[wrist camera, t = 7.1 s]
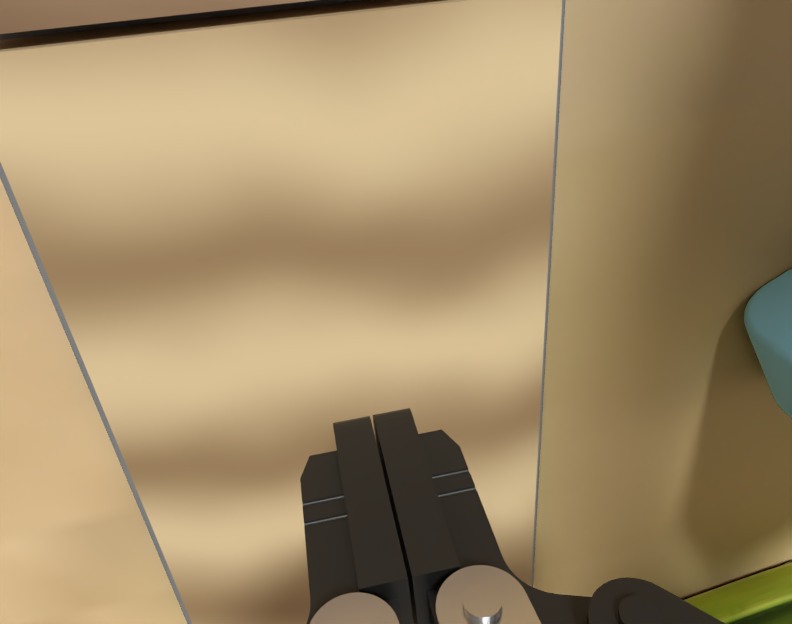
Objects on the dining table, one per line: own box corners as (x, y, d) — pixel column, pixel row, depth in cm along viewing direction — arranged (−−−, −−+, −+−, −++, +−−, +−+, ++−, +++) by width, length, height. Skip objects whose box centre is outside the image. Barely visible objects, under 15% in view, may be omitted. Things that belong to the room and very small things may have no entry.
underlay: (-420, -866, 8) (-456, -908, 8) (596, -811, 10) (611, -845, 10) (207, 657, 27) (206, 669, 26) (528, 584, 28) (532, 594, 28)
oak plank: (-8, 40, 14) (-43, 57, 12) (528, -17, 15) (562, -10, 14) (220, 636, 25) (218, 687, 24) (511, 571, 27) (529, 614, 25)
